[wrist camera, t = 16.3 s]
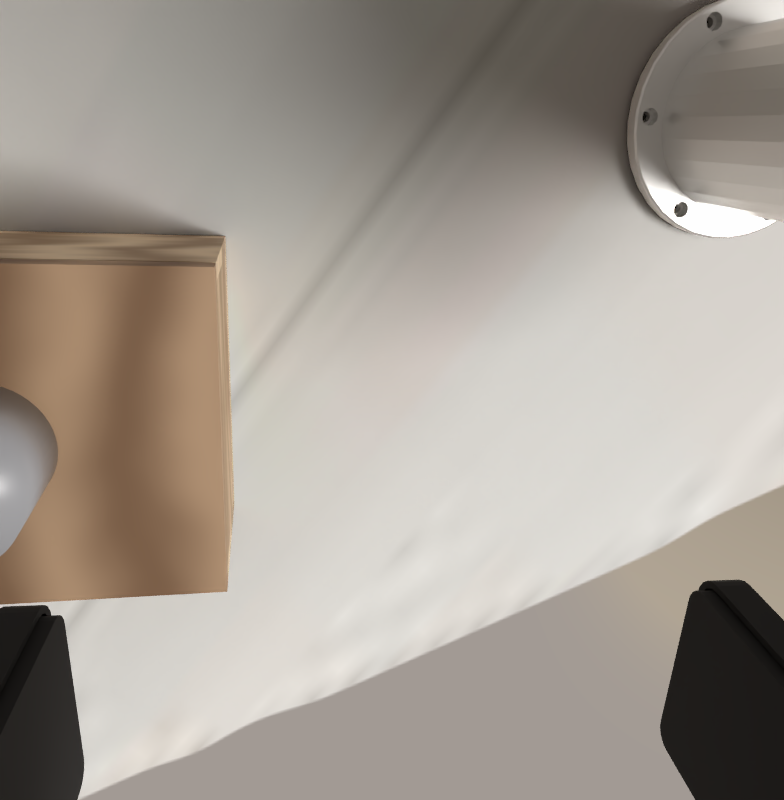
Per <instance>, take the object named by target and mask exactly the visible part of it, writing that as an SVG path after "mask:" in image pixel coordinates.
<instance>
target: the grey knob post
mask: <svg viewBox="0 0 784 800" xmlns="http://www.w3.org/2000/svg"><path fill="white" fill-rule="evenodd" d="M57 460H58V445H57V441H56V437H55V434H54V431H53V429H52V427H51V425H50V423H49V422H48V420H47V419H46V417H45V416H44V415H43V413H42V412H41V411H40V410H39V409H38V408H37V407H36V406H35V405H34V404H32V403H31V402H30V401H29V400H27V399H26V398H24V397H23V396H21V395H19V394H17V393H15V392H14V391H11V390H9V389H6V388H4V387H0V556H1V555H2V554H4V553H5V552H6V551H7V550H8V549H9V547H10V546H11V545H12V544H13V542H14V541H15V539H16V538H17V536H18V534H19V533H20V531H21V529H22V527H23V526H24V524H25V522H26V521H27V519H28V517H29V516H30V514H31V512H32V511H33V509H34V507H35V505H36V504H37V502H38V500H39V499H40V497H41V495H42V494H43V492H44V490H45V488H46V487H47V485H48V483H49V482H50V480H51V478H52V476H53V474H54V472H55V469H56V465H57Z"/></svg>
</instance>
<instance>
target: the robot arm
mask: <svg viewBox="0 0 784 800" xmlns="http://www.w3.org/2000/svg"><path fill="white" fill-rule="evenodd" d="M707 20H708V27H707ZM643 113H645V115H646V118H645V120H644V121H643V119H642V116H643ZM627 148H628V154H629V161H630V167H631V170H632V173H633V176H634V179H635V181H636V184H637V187H638V189H639V190H640V192H641V194H642V195H643V197H644V199H645V200H646V202H647V204H648V205H649V206H650V207H651V208H652V209H653V210H654V211H655V212H656V213H657V214H658V215H659V216H660V217H661V218H662V219H664V220H665V221H667V222H668V223H670V224H671V225H673V226H674V227H676V228H678V229H681V230H684V231H686V232H689V233H692V234H695V235H700V236H705V237H709V238H731V237H737V236H742V235H748V234H750V233H753V232H755V231H758V230H761V229H763V228H766V227H768V226H769V225H771V224H773V223H774V222H776V221H781V222H784V0H719V1H717V2H714V3H711V4H709V5H706V6H704V7H703V8H701V9H699V10H698V11H696V12H695V13H693V14H691V15H690V16H688V17H687V18H685V19H684V20H683V21H682V22H681V23H680V24H679V25H677V26H676V27H675V28H674V29H673V30H672V31H671V32H670V33H669V34H668V35H667V36H666V37H665V38H664V40H663V41H662V42H661V44H660V45H659V46H658V47H657V49H656V50H655V51H654V52H653V54H652V56H651V57H650V59H649V61H648V63H647V65H646V66H645V68H644V70H643V72H642V74H641V75H640V78H639V81H638V84H637V86H636V89H635V92H634V95H633V98H632V102H631V107H630V112H629V118H628V128H627ZM675 205H676V210H675V211H674V207H675ZM660 729H661V736H662V741H663V744H664V746H665V748H666V750H667V752H668V754H669V755H670V757H671V759H672V761H673V762H674V764H675V766H676V767H677V769H678V771H679V773H680V774H681V776H682V778H683V779H684V781H685V783H686V785H687V786H688V788H689V790H690V791H691V793H692V795H693V796H694V798H695V800H784V621H783V619H782V618H781V617H780V616H779V615H778V614H777V613H776V612H775V611H774V610H773V609H772V608H771V607H770V606H769V605H768V604H767V603H766V602H765V601H764V600H763V599H762V598H761V597H760V596H759V594H758V593H756V591H755V590H754V589H752V587H751V586H750V585H749V584H747V583H746V582H745V581H742V580H722V581H721V580H719V581H706V582H703V583H702V585H701V586H700V587H699V590H698V591H694V592H693V593H692V594H691V596H690V598H689V602H688V606H687V611H686V615H685V619H684V623H683V628H682V632H681V637H680V641H679V645H678V649H677V654H676V658H675V662H674V667H673V671H672V675H671V680H670V684H669V688H668V693H667V697H666V701H665V706H664V710H663V714H662V719H661V725H660ZM83 773H84V757H83V750H82V743H81V735H80V728H79V721H78V714H77V707H76V700H75V693H74V686H73V679H72V672H71V665H70V658H69V651H68V644H67V637H66V630H65V623H64V619H63V617H62V616H60V615H56V616H51V612H50V610H49V608H48V606H45V605H37V606H10V607H3V608H0V800H77V799H78V796H79V792H80V789H81V785H82V780H83Z"/></svg>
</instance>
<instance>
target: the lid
mask: <svg viewBox="0 0 784 800" xmlns="http://www.w3.org/2000/svg"><path fill="white" fill-rule="evenodd" d="M0 387H4V388H6V389H9V390H11V391H14V392H15V393H17V394H19V395H21V396H23V397H24V398H26V399H27V400H29V401H30V402H31V403H32V404H34V405H35V406H36V407H37V408H38V409H39V410H40V411H41V412H42V413H43V415H44V416H45V417H46V419H47V420H48V422H49V423H50V425H51V427H52V429H53V431H54V434H55V437H56V441H57V445H58V460H57V465H56V469H55V472H54V474H53V476H52V478H51V480H50V482H49V483H48V485H47V487H46V488H45V490H44V492H43V494H42V495H41V497H40V499H39V500H38V502H37V504H36V505H35V507H34V509H33V511H32V512H31V514H30V516H29V517H28V519H27V521H26V522H25V524H24V526H23V527H22V529H21V531H20V533H19V534H18V536H17V538H16V539H15V541H14V542H13V544H12V545H11V546H10V547H9V549H8V550H7V551H6V552H5V553H4V554H2V555H1V556H0V604H16V603H34V602H51V601H69V600H87V599H104V598H122V597H139V596H157V595H174V594H192V593H210V592H227V586H228V567H227V541H226V515H225V488H224V462H223V436H222V409H221V383H220V357H219V330H218V304H217V278H216V263H206V262H150V261H94V260H37V259H0Z"/></svg>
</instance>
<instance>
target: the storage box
mask: <svg viewBox="0 0 784 800" xmlns="http://www.w3.org/2000/svg"><path fill="white" fill-rule="evenodd" d="M0 259H37V260H94V261H150V262H206V263H216V278H217V304H218V330H219V357H220V383H221V409H222V436H223V462H224V488H225V515H226V541H227V567H228V573H229V561H230V548H231V535H232V523H233V510H234V487H233V456H232V425H231V395H230V364H229V334H228V303H227V272H226V242H225V236H198V235H157V234H115V233H73V232H31V231H0Z"/></svg>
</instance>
